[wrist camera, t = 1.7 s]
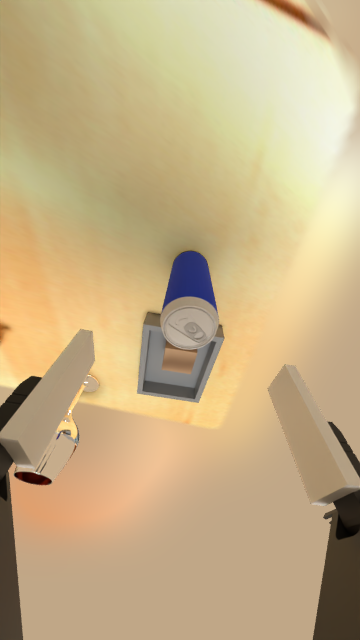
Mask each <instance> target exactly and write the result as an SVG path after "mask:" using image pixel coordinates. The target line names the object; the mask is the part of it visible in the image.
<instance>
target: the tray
mask: <svg viewBox="0 0 360 640" xmlns="http://www.w3.org/2000/svg"><path fill="white" fill-rule="evenodd" d="M160 317H161V315H160V314H155V313H149V312H148V313H147V316H146V319H145V321H144V325H143V335H142V346H141V357H140V368H139V379H138V389H137V393H138V394H144V395H151V396H157V397H164V398H171V399H177V400H184V401H190V402H197V403H199V400H200V398H201V395H202V393H203V390H204V388H205V385H206V383H207V380H208V378H209V375H210V373H211V370H212V368H213V365H214V363H215V360H216V358H217V355H218V353H219V350H220V348H221V345H222V343H223V341H224V334H223V329H222V325H218V329H217V331H216V334H215V336H214V338H213V339H212V340H211V341H210V342H209V343H208V344H207V345H205V346H203V347H201V348H197V356H196V359H195V362H194V366H193V369H192V372H191V374H186V373H180V372H173V371H167V370H161V369H162V363H163V357H164V351H165V345H166V338H165V337H164V335H163V332H162V328H161V324H160Z"/></svg>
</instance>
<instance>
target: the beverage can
mask: <svg viewBox="0 0 360 640" xmlns="http://www.w3.org/2000/svg"><path fill="white" fill-rule="evenodd" d="M160 324H161V328H162V332H163V335H164V337H165V338H166V340H167V341H168V342H169V343H170V344H172V345H173V346H175V347H178V348H181V349H188V350H189V349H197V348H201V347H203V346H205V345H207V344H208V343H209V342H210V341H211V340H212V339H213V338H214V336H215V334H216V331H217V329H218V325H219V316H218V312H217V307H216V302H215V297H214V292H213V287H212V282H211V278H210V273H209V268H208V264H207V261H206V259H205V258H204V257H203V256H202V255H201V254H200V253H197V252H194V251H187V252H183V253H181V254H180V255H179V256H177V258H176V259H175V260H174V263H173V266H172V270H171V275H170V279H169V283H168V287H167V291H166V296H165V300H164V304H163V308H162V313H161V317H160Z"/></svg>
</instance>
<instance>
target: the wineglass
mask: <svg viewBox="0 0 360 640" xmlns="http://www.w3.org/2000/svg"><path fill="white" fill-rule="evenodd" d="M98 388H99V382H98V380H97V379H96V378H94V377H93V376H91V375H89V374H87V376H86V378H85V380H84V381H83V383H82V385H81V387H80V389H79V391H78V393H77V395H76V397H75V398H74V400H73V402H72V404H71V406H70V407H69V409H68V411H67V412H66V414H65V416H64V417H63V419H62V421H61V423H60V425H59V426H58V428H57V430H56V432H55V434H54V435H53V437H52V439H51V441H50V443H49V444H48V446H47V448H46V450H45V452H44V453H43V455H42V457H41V459H40V461H39V462H38V464H37V466H36V468H35V469H32V468H24V467H17V466H16V468H15V472H14V474H13V475H14V477H16V478H17V479H19V480H21V481H23V482H26V483H30V484H35V485H50V484H52V483H53V481H54V480H55V478H56V477H57V476H58V474H59V473H60V472H61V470H62V469H63V468H64V466H65V465H66V463H67V462H68V460H69V459H70V458H71V456H72V455H73V453H74V451H75V450H76V448H77V446H78V443H79V430H78V427H77V425H76V423H75V422H74V420H73V418H72V410H73V408H74V407H75V405H76V403H77V401H78V399H79V397H80V395H81V393H82V392H83V391H86V392H92V391H96V390H97V389H98Z"/></svg>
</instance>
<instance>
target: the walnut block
mask: <svg viewBox="0 0 360 640" xmlns="http://www.w3.org/2000/svg"><path fill="white" fill-rule="evenodd" d="M196 356H197V349H189V350H188V349H181V348H178V347H175V346H173V345H172V344H170V343H169V342H168V341H167V340H166V345H165V351H164V357H163V363H162V369H161V370H167V371H173V372H180V373H186V374H191V372H192V369H193V366H194V362H195V359H196Z"/></svg>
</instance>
